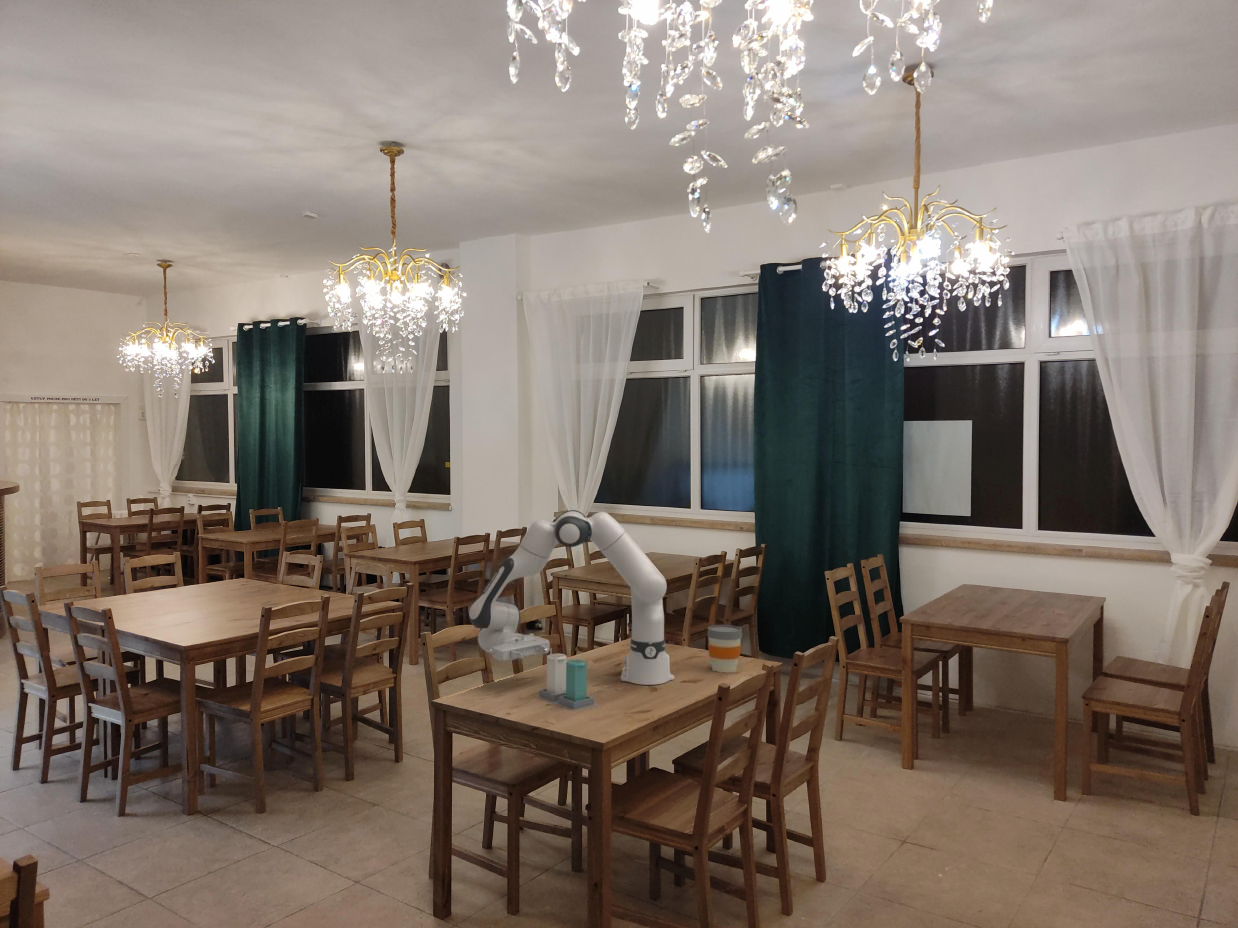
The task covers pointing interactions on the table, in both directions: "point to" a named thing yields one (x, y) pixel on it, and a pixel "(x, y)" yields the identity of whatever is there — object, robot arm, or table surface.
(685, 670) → the table surface
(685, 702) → the table surface
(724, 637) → the reusable coffee cup
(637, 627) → the robot arm
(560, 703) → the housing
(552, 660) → the post
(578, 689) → the teal square canister
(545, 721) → the table surface
